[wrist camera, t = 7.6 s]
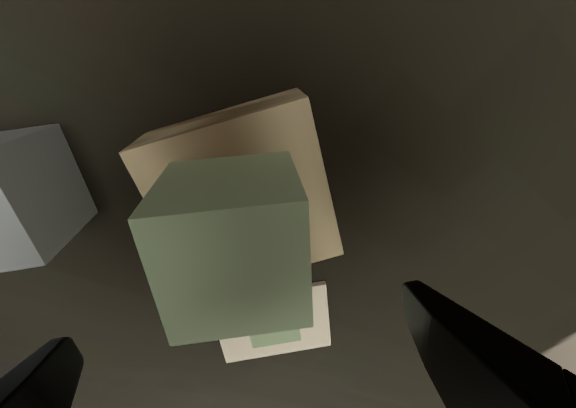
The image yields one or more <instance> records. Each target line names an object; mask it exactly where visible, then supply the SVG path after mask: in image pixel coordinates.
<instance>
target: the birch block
mask: <svg viewBox="0 0 576 408" xmlns="http://www.w3.org/2000/svg"><path fill="white" fill-rule="evenodd" d="M282 151H289V152H290V155H291V157H292V160H293V162H294V165H295V167H296V170H297V173H298V175H299V178H300V180H301V183H302V185H303V188H304V190H305V193H306V195H307V198H308V200H309V224H310V250H311V263H314V262H318V261H322V260H325V259H329V258H332V257H336V256H340V255H343V254H344V252H343V248H342V243H341V239H340V235H339V230H338V226H337V221H336V217H335V212H334V208H333V203H332V199H331V195H330V190H329V186H328V181H327V177H326V172H325V168H324V163H323V159H322V155H321V150H320V146H319V141H318V137H317V132H316V128H315V124H314V119H313V115H312V110H311V106H310V101H309V97H308V96H307V95H306V94H304V93H303V92H302V91H301V90H299V89H298V88H293V89H290V90H287V91H283V92H280V93H277V94H273V95H270V96H266V97H263V98H260V99H256V100H253V101H250V102H246V103H243V104H239V105H236V106H233V107H229V108H226V109H222V110H219V111H216V112H212V113H209V114H206V115H202V116H199V117H195V118H192V119H189V120H185V121H182V122H179V123H175V124H172V125H168V126H165V127H162V128H158V129H155V130H152V131H148V132H146V133H145V134H143V135H142V136H141V137H139V138H138V139H136V140H135V141H134V142H132V143H131V144H130V145H128V146H127V147H126V148H124V149H123V150H122V151H120V152H119V155H120V157H121V158H122V160H123V162H124V164H125V166H126V168H127V170H128V171H129V173H130V175H131V177H132V179H133V181H134V182H135V184H136V186H137V188H138V190H139V192H140V194H141V195H142V197H143V198H144V196H145V195H146V194H147V192H148V191H149V190H150V188H151V187H152V186H153V184H154V183H155V182H156V180H157V179H158V177H159V176H160V175H161V173H162V172H163V171H164V169H165V168H166V167H167V165H168V164H169V162H176V161H187V160H197V159H208V158H218V157H229V156H239V155H250V154H260V153H271V152H282Z"/></svg>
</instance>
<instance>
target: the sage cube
mask: <svg viewBox="0 0 576 408" xmlns="http://www.w3.org/2000/svg"><path fill="white" fill-rule="evenodd" d="M128 223H129V226H130V229H131V232H132V235H133V238H134V241H135V244H136V247H137V250H138V253H139V256H140V259H141V262H142V265H143V268H144V271H145V274H146V277H147V280H148V283H149V286H150V289H151V291H152V294H153V297H154V300H155V303H156V306H157V309H158V312H159V315H160V318H161V321H162V324H163V327H164V330H165V333H166V336H167V339H168V342H169V345H170V347H171V346H178V345H185V344H193V343H200V342H208V341H215V340H222V339H230V338H237V337H244V336H252V335H259V334H267V333H274V332H281V331H289V330H296V329H303V328H311V327H314V326H313V300H312V275H311V250H310V224H309V200H308V198H307V195H306V193H305V190H304V188H303V185H302V183H301V180H300V178H299V175H298V173H297V170H296V167H295V165H294V162H293V160H292V157H291V155H290V152H289V151H282V152H271V153H260V154H250V155H239V156H229V157H218V158H208V159H197V160H187V161H176V162H169V164H168V165H167V167H166V168H165V169H164V171H163V172H162V173H161V175H160V176H159V177H158V179H157V180H156V182H155V183H154V184H153V186H152V187H151V188H150V190H149V191H148V192H147V194H146V195H145V196H144V198H143V199H142V201H141V202H140V203H139V205H138V206H137V207H136V209H135V210H134V211H133V213H132V214H131V215H130V217H129V218H128Z"/></svg>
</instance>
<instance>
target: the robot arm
mask: <svg viewBox="0 0 576 408" xmlns="http://www.w3.org/2000/svg"><path fill="white" fill-rule="evenodd" d="M401 307H402V312H403V315H404V317H405V320H406V322H407V325H408V327H409V329H410V332H411V334H412V337H413V339H414V342H415V344H416V347H417V349H418V352H419V354H420V357H421V359H422V361H423V364H424V366H425V368H426V370H427V372H428V374H429V376H430V378H431V380H432V382H433V384H434V386H435V388H436V390H437V391H438V393H439V395H440V397H441V399H442V401H443V403H444V405H445V407H446V408H576V375H575V374H573V373H571V372H570V371H568V370H566V369H563V370H562V367H561V366H560V365H558V364H556V363H555V362H553V361H551V360H550V359H548V358H546V357H545V356H543V355H541V354H540V353H538V352H536V351H535V350H533V349H532V348H530V347H528V346H527V345H525V344H523V343H522V342H520V341H518V340H517V339H515V338H513V337H512V336H510V335H508V334H507V333H505V332H503V331H502V330H500V329H498V328H497V327H495V326H493V325H492V324H490V323H489V322H487V321H485V320H484V319H482V318H480V317H479V316H477V315H475V314H474V313H472V312H470V311H469V310H467V309H465V308H464V307H462V306H460V305H459V304H457V303H455V302H454V301H452V300H450V299H449V298H447V297H446V296H444V295H442V294H441V293H439V292H437V291H436V290H434V289H432V288H431V287H429V286H427V285H426V284H424V283H422V282H421V281H418V280H415V281H409V282H405V283H403V286H402V300H401ZM83 364H84V360H83V356H82V354H81V353H80V351H79V349H78V348H77V346H76V345H75V343H74V341H73V340H72V339H71V338H70V337H62V338H55V339H52V340H50V341H48V342H47V343H46V344H44V345H43V346H42V347H41V348H39V349H38V350H37V351H35V352H34V353H33V354H31V355H30V356H29V357H28V358H26V359H25V360H24V361H22V362H21V363H20V364H18V365H17V366H16V367H15V368H13V369H12V370H11V371H9V372H8V373H7V374H5V375H4V376H3V377H2V378H0V408H71V405H72V402H73V398H74V395H75V392H76V388H77V385H78V382H79V378H80V375H81V372H82V369H83Z"/></svg>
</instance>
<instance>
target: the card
mask: <svg viewBox="0 0 576 408" xmlns="http://www.w3.org/2000/svg"><path fill="white" fill-rule="evenodd" d="M312 300H313V326H314V327H311V328H303V329H296V330H289V331H281V332H274V333H267V334H259V335H252V336H244V337H237V338H230V339H222V340H219V341H220V344H221V347H222V350H223V354H224V357H225V360H226V363H230V362H236V361H242V360H247V359H253V358H259V357H265V356H271V355H277V354H283V353H289V352H295V351H301V350H307V349H312V348H318V347H324V346H330V345H331V337H330V325H329V313H328V301H327V289H326V283H325V281H319V282H313V283H312Z"/></svg>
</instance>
